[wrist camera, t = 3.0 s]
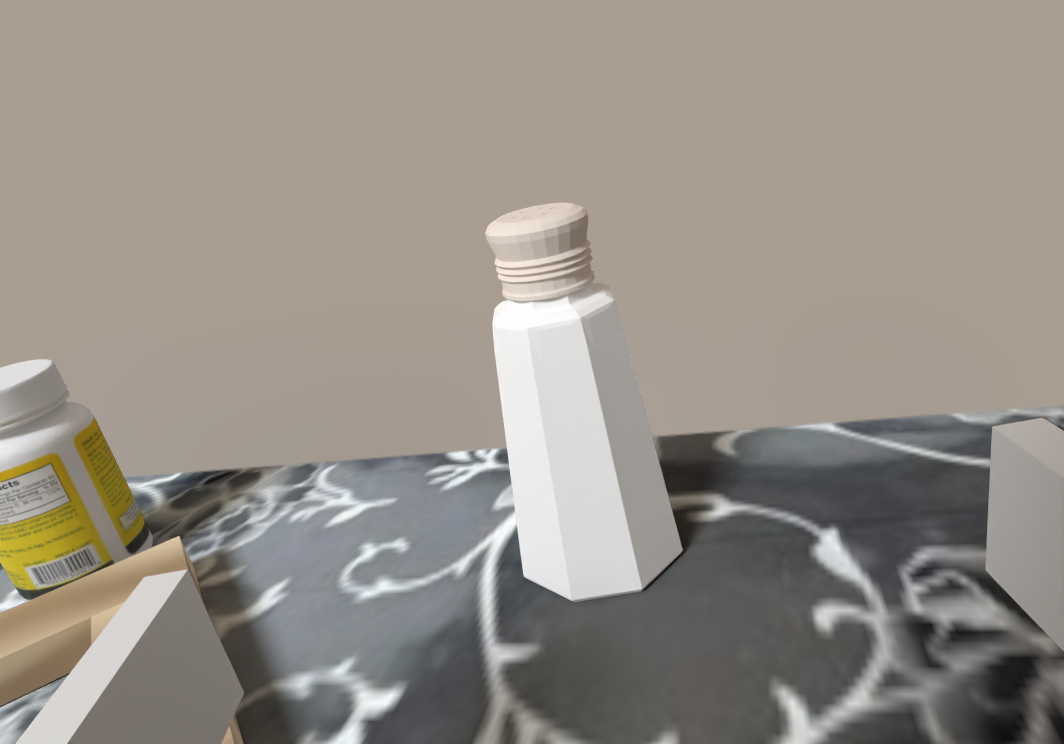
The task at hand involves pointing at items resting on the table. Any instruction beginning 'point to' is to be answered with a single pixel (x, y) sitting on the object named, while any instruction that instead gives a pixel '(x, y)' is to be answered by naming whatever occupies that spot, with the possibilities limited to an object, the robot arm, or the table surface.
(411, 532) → the table surface
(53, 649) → the hole block
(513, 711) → the table surface
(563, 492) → the pepper shaker
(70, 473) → the supplement bottle
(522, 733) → the table surface
